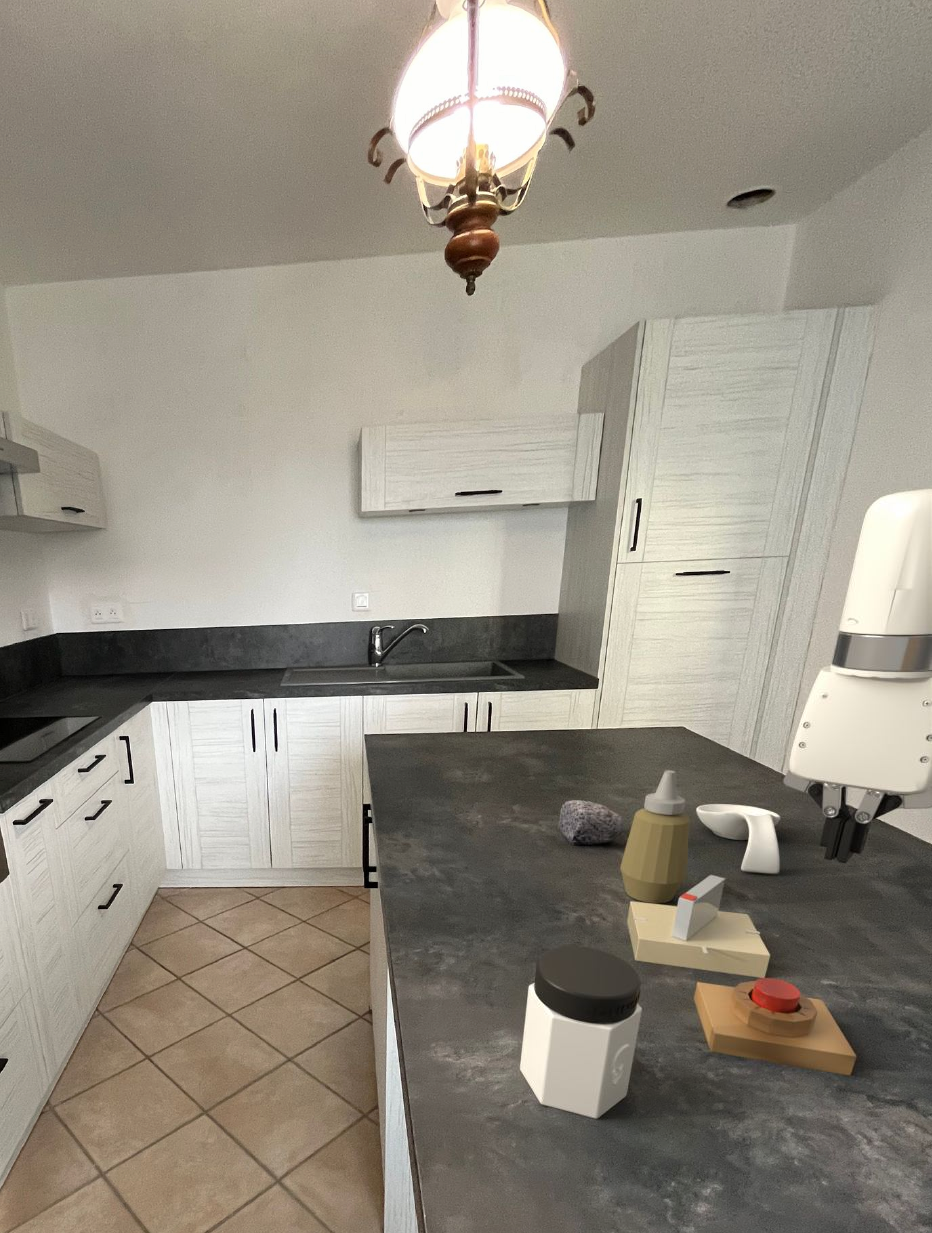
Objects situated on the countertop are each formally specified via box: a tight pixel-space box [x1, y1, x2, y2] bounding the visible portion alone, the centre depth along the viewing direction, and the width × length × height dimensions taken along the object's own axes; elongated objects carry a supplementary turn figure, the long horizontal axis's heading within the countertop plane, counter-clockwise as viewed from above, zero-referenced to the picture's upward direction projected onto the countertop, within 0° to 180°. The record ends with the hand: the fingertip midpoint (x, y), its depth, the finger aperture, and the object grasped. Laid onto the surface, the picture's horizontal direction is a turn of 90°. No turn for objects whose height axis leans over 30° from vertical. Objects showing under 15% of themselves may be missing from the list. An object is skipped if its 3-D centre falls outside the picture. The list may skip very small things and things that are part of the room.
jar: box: [519, 945, 643, 1120], centre depth 60 cm, size 9×8×12 cm
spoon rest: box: [695, 803, 781, 875], centre depth 109 cm, size 24×12×7 cm, turn 160°
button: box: [751, 977, 802, 1014], centre depth 65 cm, size 4×4×2 cm
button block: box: [693, 980, 857, 1076], centre depth 66 cm, size 11×9×4 cm
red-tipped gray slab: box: [672, 874, 726, 941], centre depth 80 cm, size 9×2×5 cm, turn 129°
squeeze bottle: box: [619, 769, 691, 904], centre depth 92 cm, size 8×8×18 cm
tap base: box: [626, 900, 771, 979], centre depth 82 cm, size 13×13×3 cm
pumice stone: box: [557, 799, 625, 846], centre depth 113 cm, size 10×8×10 cm
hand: (839, 856), depth 63 cm, fingers closed
